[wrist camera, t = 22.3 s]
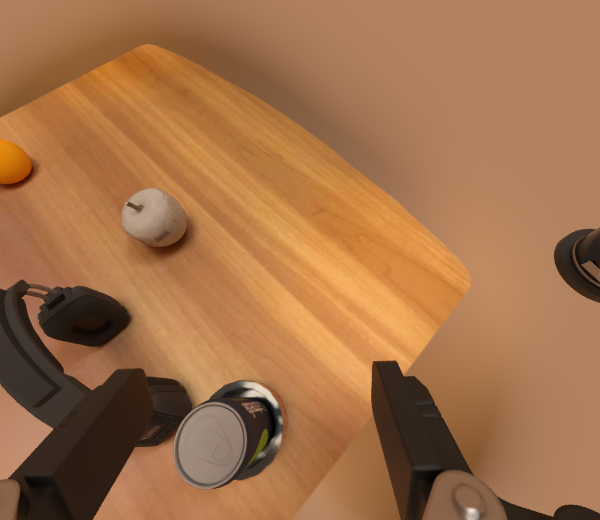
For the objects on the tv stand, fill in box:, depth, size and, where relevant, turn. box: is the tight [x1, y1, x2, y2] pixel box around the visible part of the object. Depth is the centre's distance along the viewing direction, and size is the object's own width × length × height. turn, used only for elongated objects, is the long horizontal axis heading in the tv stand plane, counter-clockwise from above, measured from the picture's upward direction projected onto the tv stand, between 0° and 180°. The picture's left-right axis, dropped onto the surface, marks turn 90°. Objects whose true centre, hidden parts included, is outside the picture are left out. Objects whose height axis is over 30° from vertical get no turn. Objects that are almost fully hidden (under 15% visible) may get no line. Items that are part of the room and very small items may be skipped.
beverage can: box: [173, 397, 274, 489], centre depth 29 cm, size 6×6×15 cm
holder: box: [209, 380, 287, 480], centre depth 34 cm, size 9×9×6 cm
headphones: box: [0, 280, 192, 447], centre depth 31 cm, size 22×6×20 cm, turn 45°
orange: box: [0, 139, 32, 184], centre depth 53 cm, size 8×8×8 cm
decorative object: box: [122, 188, 187, 247], centre depth 45 cm, size 9×9×10 cm
